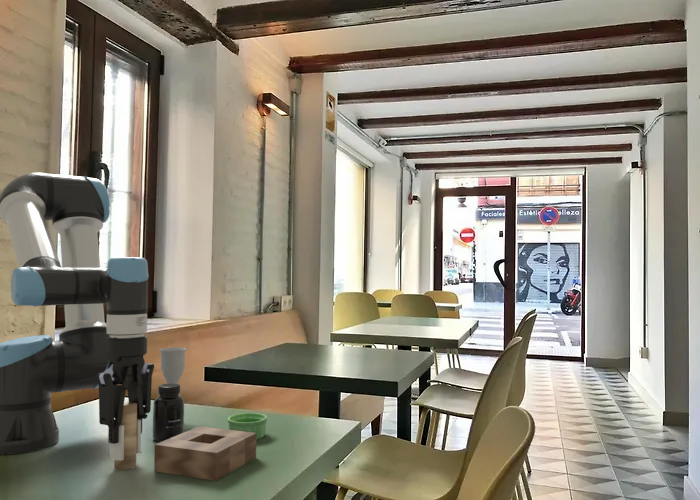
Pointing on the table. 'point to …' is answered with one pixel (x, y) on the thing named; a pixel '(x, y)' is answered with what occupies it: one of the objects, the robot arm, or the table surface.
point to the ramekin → (248, 423)
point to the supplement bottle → (168, 412)
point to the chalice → (172, 364)
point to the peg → (128, 437)
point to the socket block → (205, 452)
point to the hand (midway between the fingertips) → (125, 455)
